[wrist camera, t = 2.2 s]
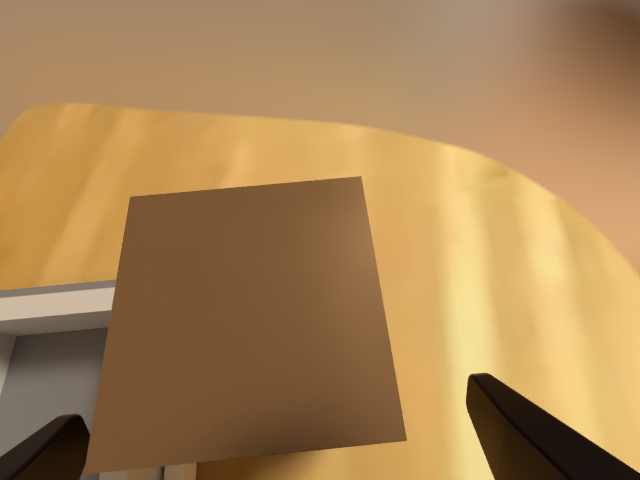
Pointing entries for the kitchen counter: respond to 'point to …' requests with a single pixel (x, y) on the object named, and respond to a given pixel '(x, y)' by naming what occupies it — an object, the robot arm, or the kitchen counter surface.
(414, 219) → the kitchen counter surface
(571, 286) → the kitchen counter surface
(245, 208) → the bar
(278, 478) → the kitchen counter surface
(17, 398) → the grey socket base
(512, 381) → the kitchen counter surface
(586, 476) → the robot arm
